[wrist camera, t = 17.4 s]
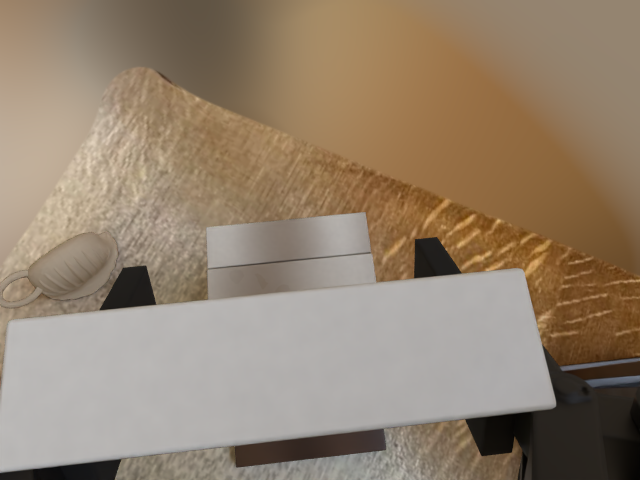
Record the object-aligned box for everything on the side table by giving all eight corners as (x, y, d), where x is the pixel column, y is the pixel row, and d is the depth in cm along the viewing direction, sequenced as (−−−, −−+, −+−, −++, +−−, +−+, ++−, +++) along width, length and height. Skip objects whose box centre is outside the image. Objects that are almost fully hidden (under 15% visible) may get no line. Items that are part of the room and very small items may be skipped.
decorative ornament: (133, 267, 41) (107, 248, 36) (41, 326, 39) (1, 314, 34) (109, 230, 42) (82, 206, 37) (19, 286, 40) (-23, 269, 35)
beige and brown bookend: (359, 262, 41) (381, 194, 28) (384, 448, 37) (425, 475, 23) (228, 275, 41) (186, 212, 27) (237, 466, 36) (192, 503, 23)
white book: (400, 347, 21) (524, 265, 9) (409, 405, 20) (560, 408, 8) (189, 370, 21) (4, 318, 8) (191, 430, 20) (-12, 474, 7)
